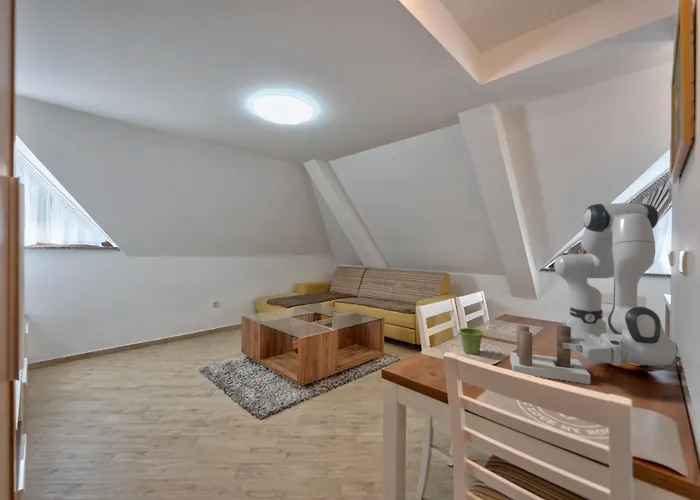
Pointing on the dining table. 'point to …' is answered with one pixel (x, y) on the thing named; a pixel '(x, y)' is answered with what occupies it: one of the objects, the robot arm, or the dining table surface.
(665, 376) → the dining table surface
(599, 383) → the dining table surface
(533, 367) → the grey peg base
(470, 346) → the plant pot
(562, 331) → the stool leg
